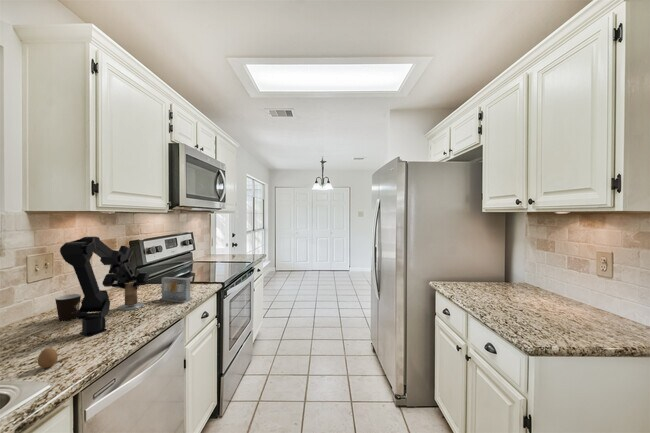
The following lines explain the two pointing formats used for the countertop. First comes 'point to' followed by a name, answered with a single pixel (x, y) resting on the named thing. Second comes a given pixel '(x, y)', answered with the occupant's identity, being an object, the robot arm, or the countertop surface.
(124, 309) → the coaster
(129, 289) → the pepper mill
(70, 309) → the coffee mug
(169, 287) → the switch panel
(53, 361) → the egg
